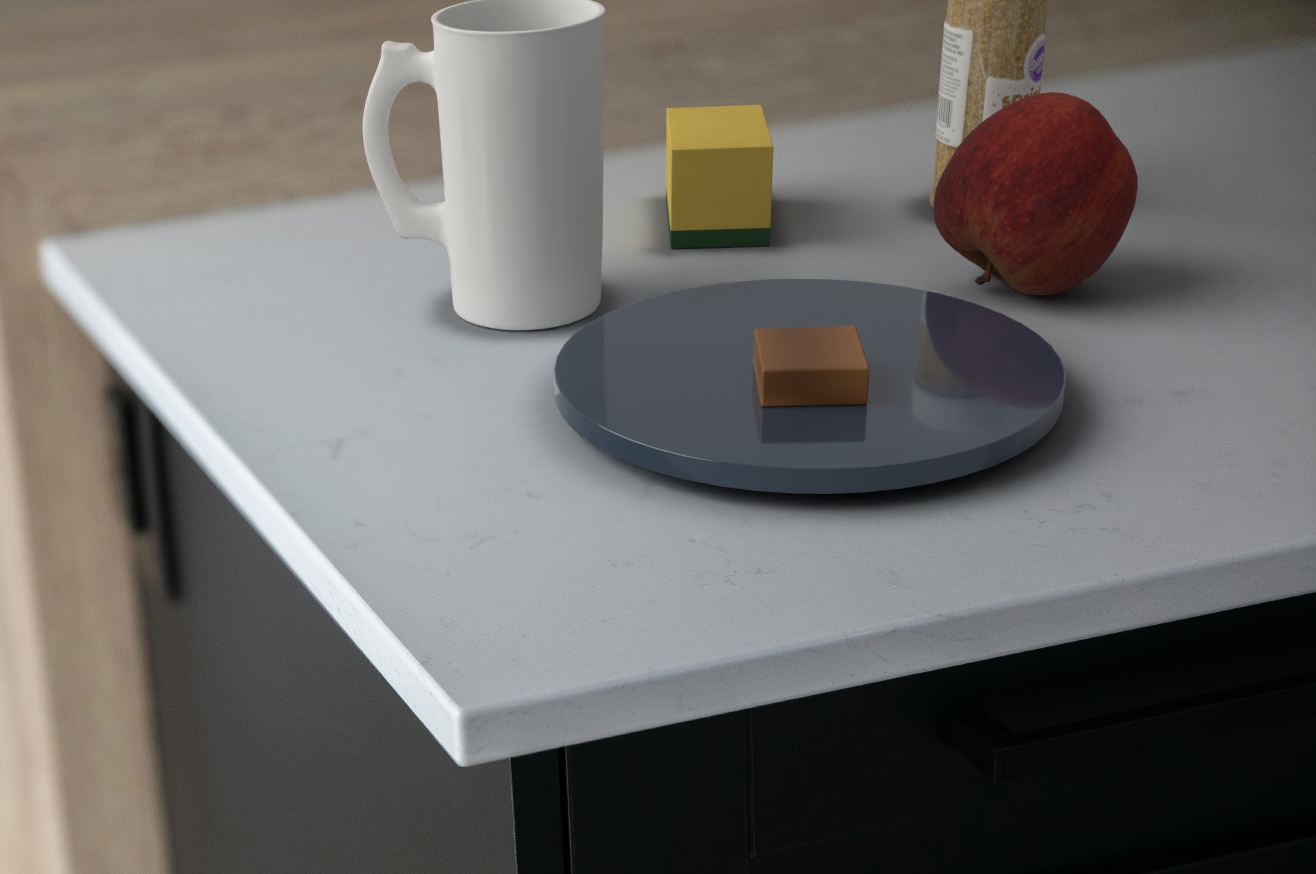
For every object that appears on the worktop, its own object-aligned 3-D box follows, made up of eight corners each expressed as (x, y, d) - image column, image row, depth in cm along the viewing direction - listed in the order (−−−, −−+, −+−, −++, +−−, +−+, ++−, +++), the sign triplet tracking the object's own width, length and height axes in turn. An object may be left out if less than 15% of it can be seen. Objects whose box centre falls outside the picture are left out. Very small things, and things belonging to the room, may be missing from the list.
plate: (1008, 308, 75) (1012, 272, 74) (1115, 507, 59) (1121, 464, 58) (559, 319, 77) (558, 284, 76) (548, 514, 61) (547, 473, 61)
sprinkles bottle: (1025, 226, 83) (1059, -91, 77) (920, 220, 85) (945, -91, 78) (1033, 195, 87) (1067, -110, 80) (933, 190, 88) (957, -109, 82)
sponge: (665, 201, 90) (666, 108, 87) (758, 198, 89) (761, 104, 87) (670, 248, 84) (671, 149, 81) (769, 246, 83) (773, 146, 81)
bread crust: (854, 361, 67) (856, 325, 66) (867, 406, 64) (870, 367, 63) (752, 363, 67) (754, 327, 67) (760, 407, 64) (762, 369, 63)
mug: (621, 281, 80) (619, -6, 74) (591, 337, 75) (587, 32, 69) (397, 273, 83) (379, -5, 77) (352, 327, 77) (329, 32, 72)
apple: (1143, 321, 73) (1173, 116, 69) (938, 324, 74) (955, 123, 70) (1104, 258, 79) (1129, 67, 75) (916, 262, 80) (930, 74, 76)
